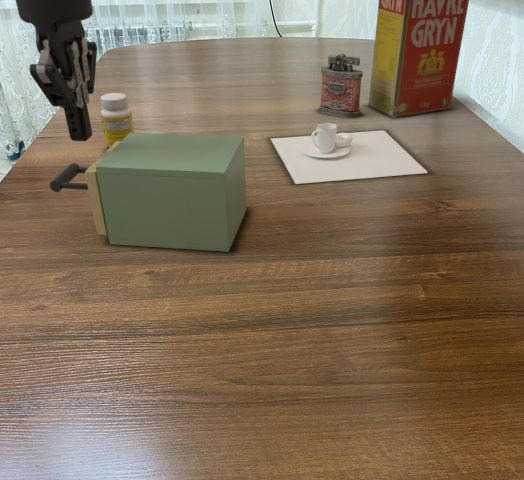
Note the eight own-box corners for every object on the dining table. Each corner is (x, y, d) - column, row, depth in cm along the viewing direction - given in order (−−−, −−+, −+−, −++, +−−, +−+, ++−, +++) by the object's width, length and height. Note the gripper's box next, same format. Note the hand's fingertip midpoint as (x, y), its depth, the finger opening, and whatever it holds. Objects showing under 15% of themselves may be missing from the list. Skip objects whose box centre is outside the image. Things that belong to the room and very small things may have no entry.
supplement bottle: (114, 144, 101) (105, 91, 96) (140, 145, 101) (133, 92, 96) (102, 154, 98) (92, 99, 93) (130, 156, 97) (121, 101, 92)
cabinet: (109, 244, 73) (95, 166, 67) (140, 204, 82) (129, 132, 76) (228, 251, 71) (224, 172, 65) (246, 210, 80) (243, 137, 74)
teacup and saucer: (347, 141, 101) (349, 116, 98) (361, 158, 94) (364, 131, 92) (295, 145, 100) (296, 120, 97) (306, 162, 93) (307, 135, 91)
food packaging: (393, 119, 110) (412, -45, 95) (366, 105, 117) (379, -50, 102) (453, 109, 114) (480, -50, 99) (423, 96, 121) (444, -54, 106)
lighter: (315, 111, 114) (318, 54, 108) (325, 107, 116) (327, 50, 110) (354, 118, 111) (358, 59, 104) (362, 114, 113) (367, 55, 107)
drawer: (50, 231, 74) (35, 169, 69) (83, 197, 82) (72, 139, 77) (206, 241, 71) (201, 177, 67) (224, 204, 80) (220, 145, 75)
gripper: (41, -40, 67) (74, 121, 77) (-22, -26, 57) (26, 157, 67) (106, -41, 66) (130, 122, 76) (54, -27, 55) (91, 160, 66)
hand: (81, 138), depth 72 cm, fingers closed
